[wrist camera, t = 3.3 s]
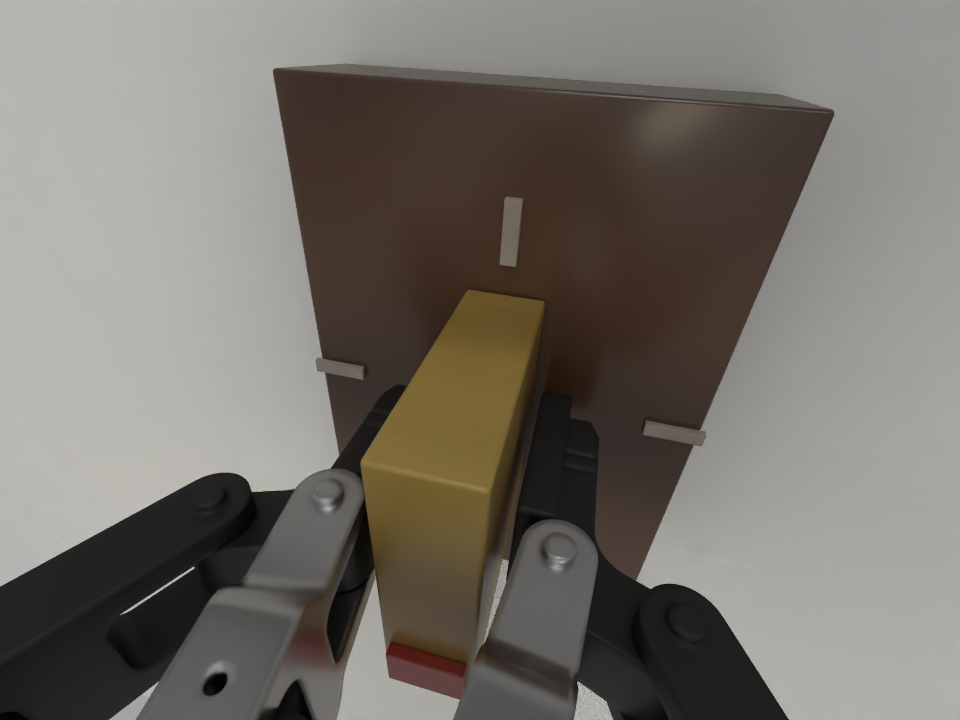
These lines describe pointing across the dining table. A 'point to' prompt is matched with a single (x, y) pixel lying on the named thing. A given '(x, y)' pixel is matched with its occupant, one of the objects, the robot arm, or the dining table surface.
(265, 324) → the dining table surface
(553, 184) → the panel
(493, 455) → the lock knob
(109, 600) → the robot arm
